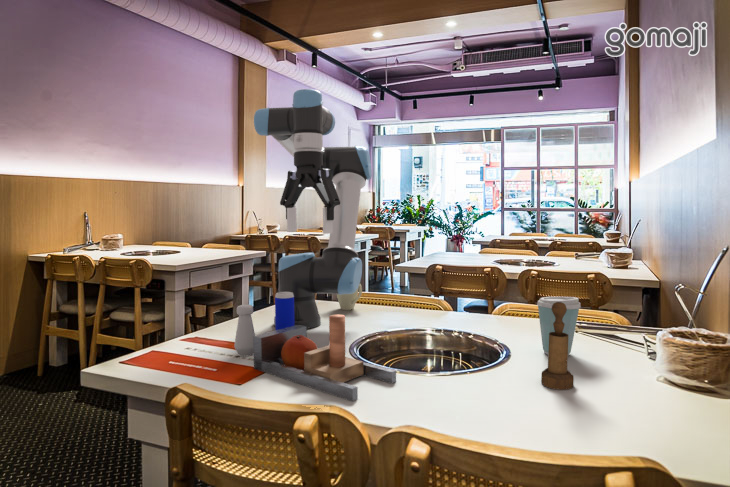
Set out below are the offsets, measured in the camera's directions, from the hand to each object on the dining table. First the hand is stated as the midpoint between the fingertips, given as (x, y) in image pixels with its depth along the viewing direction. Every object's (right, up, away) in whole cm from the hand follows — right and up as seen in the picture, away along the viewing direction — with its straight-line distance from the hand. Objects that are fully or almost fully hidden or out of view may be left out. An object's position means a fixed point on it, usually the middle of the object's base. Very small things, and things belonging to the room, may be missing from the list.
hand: (309, 232), depth 133 cm
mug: (+9, -28, +56) cm, 63 cm away
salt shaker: (-17, -32, 0) cm, 36 cm away
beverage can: (-7, -32, +6) cm, 33 cm away
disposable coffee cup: (+65, -32, -1) cm, 72 cm away
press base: (+5, -33, -17) cm, 37 cm away
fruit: (-1, -33, -12) cm, 35 cm away
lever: (+8, -33, -20) cm, 39 cm away
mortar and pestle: (+56, -34, -24) cm, 70 cm away
